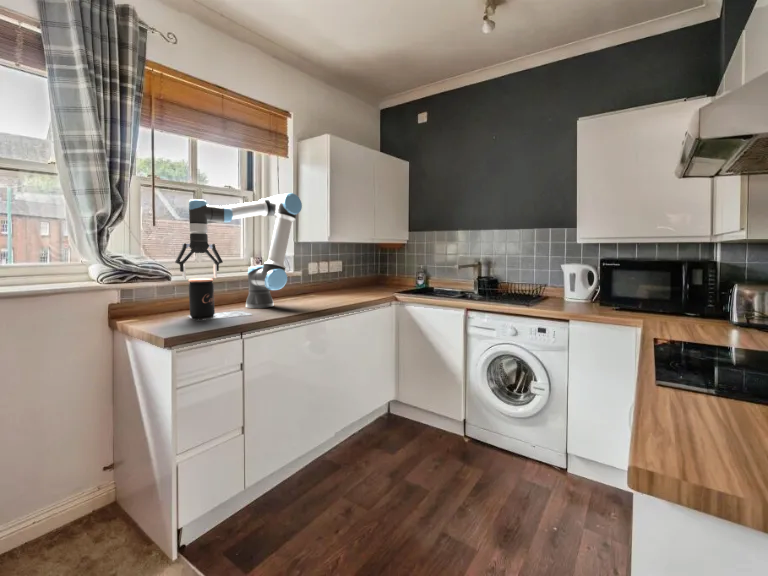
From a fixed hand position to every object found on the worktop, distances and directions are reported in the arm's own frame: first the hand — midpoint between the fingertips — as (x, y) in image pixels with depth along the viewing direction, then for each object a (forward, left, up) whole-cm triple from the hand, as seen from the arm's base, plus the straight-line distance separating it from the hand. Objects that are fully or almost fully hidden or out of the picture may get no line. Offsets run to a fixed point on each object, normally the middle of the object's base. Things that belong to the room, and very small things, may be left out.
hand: (200, 278), depth 184 cm
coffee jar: (0, 0, -19) cm, 19 cm away
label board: (-8, 0, -19) cm, 20 cm away
